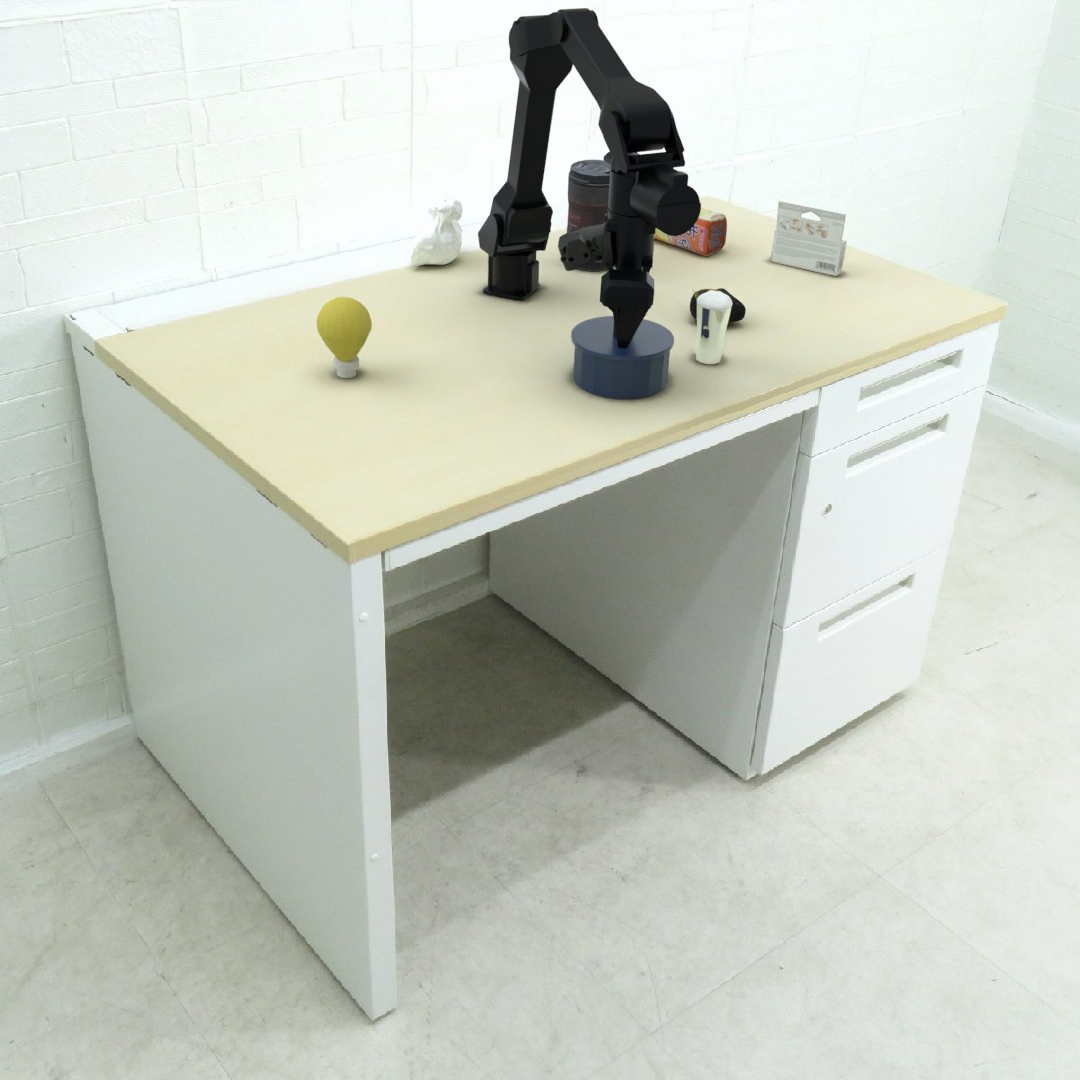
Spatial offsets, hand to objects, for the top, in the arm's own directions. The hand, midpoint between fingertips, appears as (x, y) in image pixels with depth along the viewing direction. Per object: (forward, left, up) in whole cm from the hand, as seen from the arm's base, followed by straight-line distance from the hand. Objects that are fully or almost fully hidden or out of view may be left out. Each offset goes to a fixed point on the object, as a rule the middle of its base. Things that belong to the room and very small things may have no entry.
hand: (623, 332), depth 160 cm
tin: (0, 0, -6) cm, 6 cm away
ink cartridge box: (+11, +52, -6) cm, 54 cm away
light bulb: (-31, -15, -6) cm, 35 cm away
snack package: (-13, +54, -6) cm, 56 cm away
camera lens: (-19, +37, -6) cm, 42 cm away
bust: (-40, +27, -6) cm, 48 cm away
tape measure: (+5, +25, -6) cm, 26 cm away
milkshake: (+8, +11, -6) cm, 15 cm away
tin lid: (0, 0, -1) cm, 1 cm away
